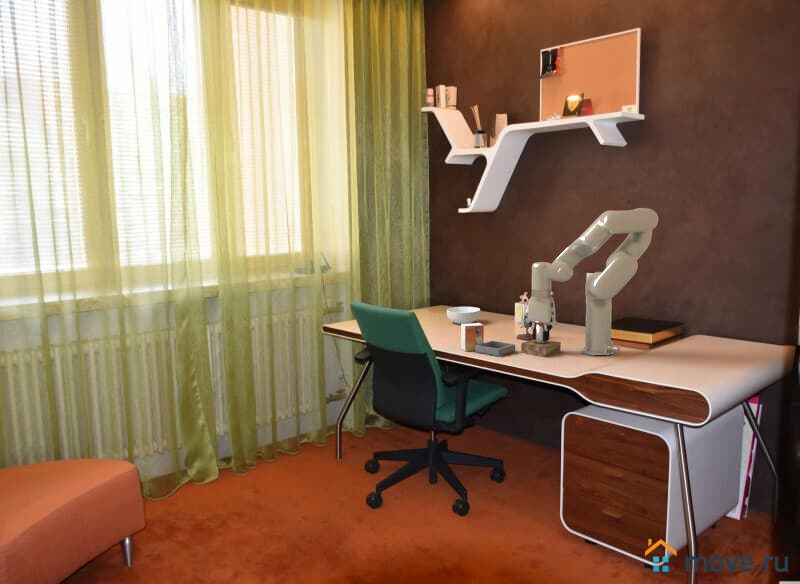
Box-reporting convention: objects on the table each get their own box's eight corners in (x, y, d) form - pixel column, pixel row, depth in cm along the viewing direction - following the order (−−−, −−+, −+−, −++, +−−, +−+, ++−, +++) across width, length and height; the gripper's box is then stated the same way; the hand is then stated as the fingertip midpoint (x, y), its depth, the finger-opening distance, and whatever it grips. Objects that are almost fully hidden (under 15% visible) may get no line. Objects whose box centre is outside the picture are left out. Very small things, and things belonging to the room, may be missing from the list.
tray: (515, 351, 260) (515, 344, 259) (498, 356, 252) (498, 349, 251) (492, 347, 267) (492, 340, 267) (475, 352, 259) (475, 345, 259)
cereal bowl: (444, 320, 330) (444, 306, 329) (477, 319, 331) (477, 306, 330) (449, 327, 314) (449, 312, 313) (483, 326, 314) (483, 311, 314)
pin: (550, 352, 258) (550, 320, 256) (542, 354, 254) (543, 322, 252) (538, 350, 261) (539, 319, 259) (531, 352, 258) (531, 320, 256)
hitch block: (560, 352, 258) (560, 342, 257) (545, 357, 250) (545, 346, 249) (536, 348, 265) (536, 338, 265) (521, 352, 257) (521, 343, 257)
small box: (464, 351, 261) (464, 326, 260) (460, 348, 267) (460, 323, 265) (483, 350, 263) (483, 324, 262) (479, 347, 268) (479, 322, 267)
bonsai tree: (518, 335, 291) (518, 308, 290) (539, 336, 289) (540, 309, 287) (515, 340, 281) (516, 313, 279) (537, 341, 278) (538, 313, 277)
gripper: (565, 294, 251) (564, 341, 254) (528, 291, 263) (528, 335, 265) (555, 296, 246) (554, 344, 248) (517, 293, 257) (517, 338, 260)
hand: (540, 339), depth 257 cm, fingers closed on pin, 4 cm apart
